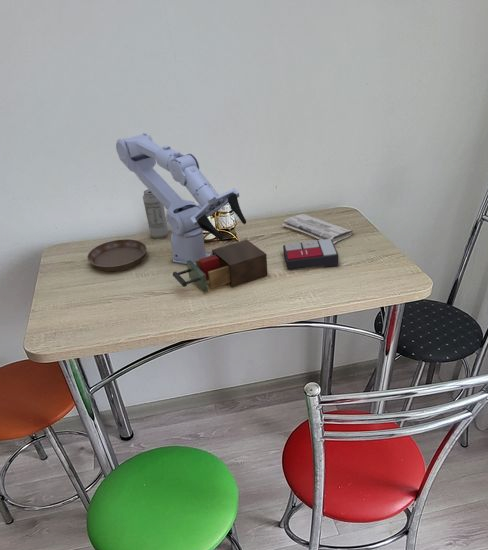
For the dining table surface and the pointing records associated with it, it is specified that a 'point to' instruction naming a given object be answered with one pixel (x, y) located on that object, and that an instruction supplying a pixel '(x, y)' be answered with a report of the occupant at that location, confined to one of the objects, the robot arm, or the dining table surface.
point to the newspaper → (317, 228)
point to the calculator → (310, 254)
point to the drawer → (204, 275)
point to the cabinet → (243, 262)
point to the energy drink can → (155, 215)
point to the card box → (209, 264)
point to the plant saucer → (117, 254)
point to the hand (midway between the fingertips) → (233, 230)
